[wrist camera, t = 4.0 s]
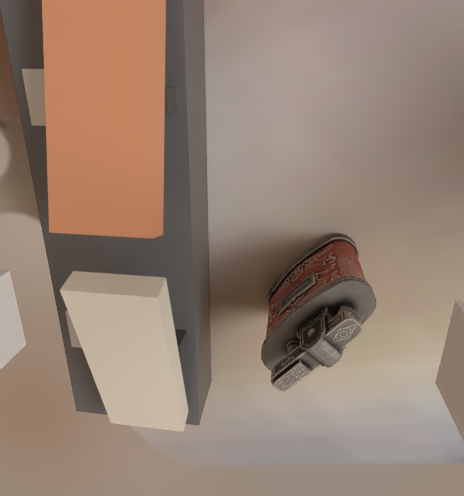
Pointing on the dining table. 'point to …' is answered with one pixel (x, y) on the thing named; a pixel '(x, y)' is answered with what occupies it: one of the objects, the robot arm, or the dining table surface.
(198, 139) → the rocker switch base
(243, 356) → the dining table surface
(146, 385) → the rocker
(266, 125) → the dining table surface
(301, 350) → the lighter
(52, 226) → the rocker middle
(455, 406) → the robot arm
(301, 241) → the dining table surface
